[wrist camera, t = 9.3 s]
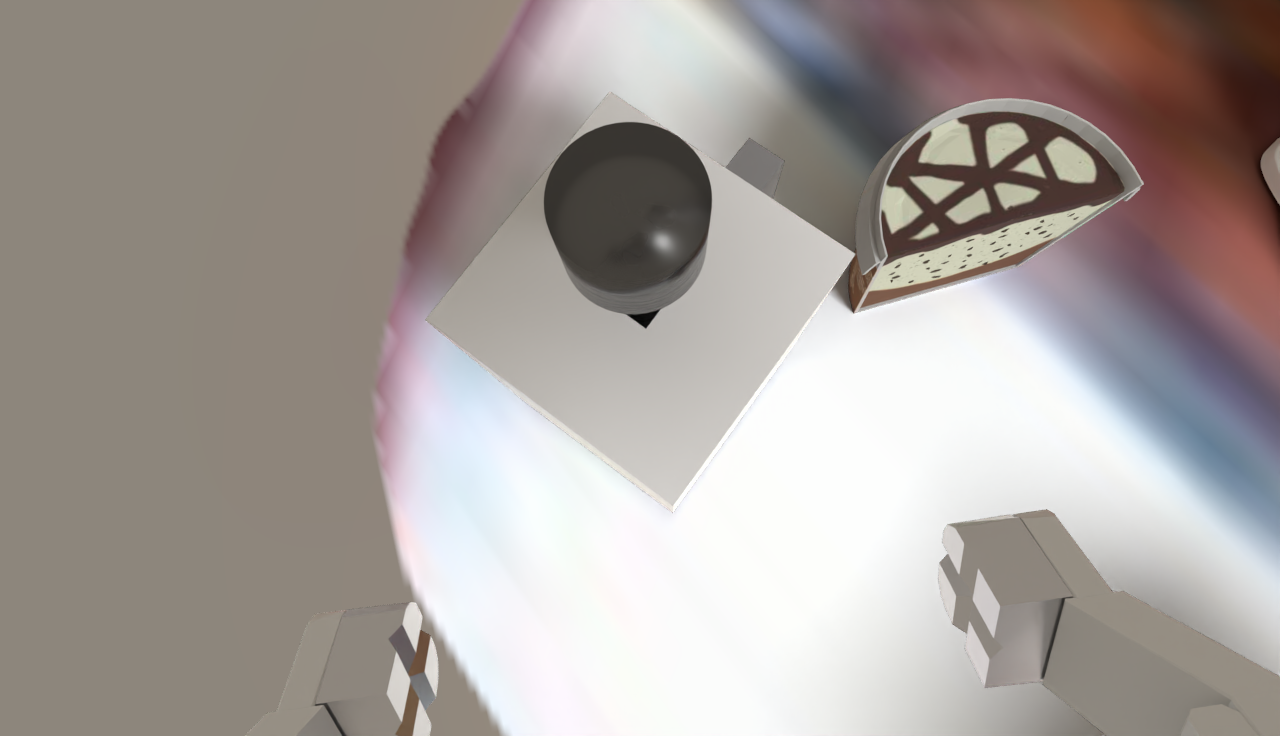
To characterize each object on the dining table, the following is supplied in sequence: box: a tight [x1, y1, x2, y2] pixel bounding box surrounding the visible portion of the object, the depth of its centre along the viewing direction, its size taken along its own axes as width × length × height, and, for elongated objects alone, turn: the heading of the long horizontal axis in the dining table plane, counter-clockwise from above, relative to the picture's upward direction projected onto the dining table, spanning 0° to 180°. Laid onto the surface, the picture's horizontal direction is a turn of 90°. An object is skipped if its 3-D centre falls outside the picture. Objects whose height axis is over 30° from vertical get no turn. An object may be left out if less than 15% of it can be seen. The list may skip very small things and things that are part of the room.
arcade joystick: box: [425, 92, 855, 513], centre depth 34 cm, size 13×10×17 cm
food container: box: [848, 98, 1144, 313], centre depth 38 cm, size 12×6×10 cm, turn 106°
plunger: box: [544, 122, 712, 328], centre depth 29 cm, size 4×4×20 cm
